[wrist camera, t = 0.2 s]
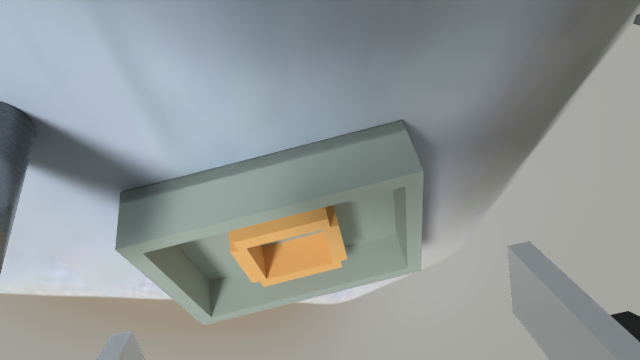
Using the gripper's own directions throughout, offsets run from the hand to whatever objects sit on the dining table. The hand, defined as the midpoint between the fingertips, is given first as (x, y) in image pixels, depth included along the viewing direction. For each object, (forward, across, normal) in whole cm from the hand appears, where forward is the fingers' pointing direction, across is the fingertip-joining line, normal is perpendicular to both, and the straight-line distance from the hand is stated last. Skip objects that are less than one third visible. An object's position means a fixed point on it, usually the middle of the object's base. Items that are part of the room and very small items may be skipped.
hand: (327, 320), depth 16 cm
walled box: (+21, -3, -5) cm, 22 cm away
